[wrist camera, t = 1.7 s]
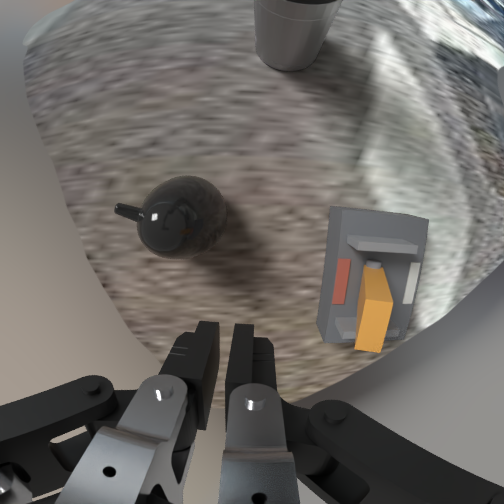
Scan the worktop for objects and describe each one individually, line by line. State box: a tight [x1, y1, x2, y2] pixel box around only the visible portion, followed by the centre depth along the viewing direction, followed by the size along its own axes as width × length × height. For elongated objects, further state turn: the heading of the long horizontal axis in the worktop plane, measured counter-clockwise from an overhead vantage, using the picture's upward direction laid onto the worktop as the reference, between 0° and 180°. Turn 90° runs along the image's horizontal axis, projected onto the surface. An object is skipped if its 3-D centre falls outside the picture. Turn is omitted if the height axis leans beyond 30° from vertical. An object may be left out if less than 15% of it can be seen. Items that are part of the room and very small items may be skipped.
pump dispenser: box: [114, 176, 227, 259], centre depth 31 cm, size 10×10×15 cm
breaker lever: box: [355, 259, 393, 353], centre depth 28 cm, size 6×2×13 cm, turn 177°
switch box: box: [316, 206, 429, 343], centre depth 35 cm, size 18×13×10 cm
